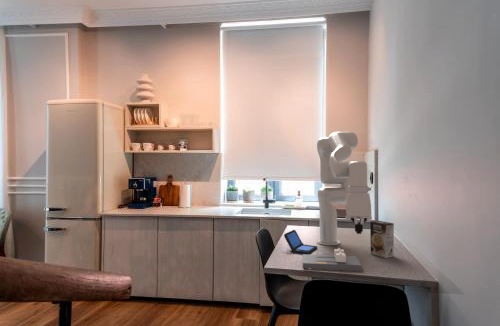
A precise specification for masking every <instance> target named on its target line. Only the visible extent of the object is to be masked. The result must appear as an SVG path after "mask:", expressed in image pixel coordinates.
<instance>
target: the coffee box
mask: <svg viewBox="0 0 500 326" xmlns="http://www.w3.org/2000/svg"><path fill="white" fill-rule="evenodd" d="M369 223H370V230H369V231H370V234H369V235H370V255H375V256H378V257H381V258H385V259H388V258H391V257H394V256H395V255H394V251H395V249H394V245H395V244H394V241H395V239H394V233H395V232H394V227H395V226H394V225H395V224H394V222H388V221H383V220H373V221H372V220H370V222H369Z"/></svg>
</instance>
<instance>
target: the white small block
mask: <svg viewBox="0 0 500 326" xmlns="http://www.w3.org/2000/svg"><path fill="white" fill-rule="evenodd" d="M346 256H347V255H346V253H345V252H344V253H341V252H339V253H336V262H346Z"/></svg>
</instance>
